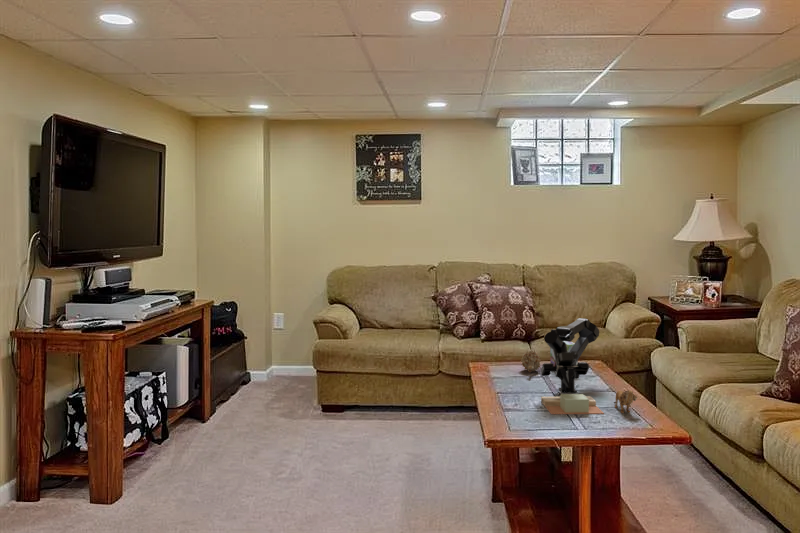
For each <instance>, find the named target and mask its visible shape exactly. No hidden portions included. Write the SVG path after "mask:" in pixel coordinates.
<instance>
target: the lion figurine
mask: <svg viewBox="0 0 800 533" xmlns="http://www.w3.org/2000/svg"><path fill="white" fill-rule="evenodd" d="M637 399H638V396H636V394H635V393H634V391H633V390H625V391H623V390H617V391H616V393H615V401H614V402H613V404H615V406H614V408H615V409H618V406H620V413H621V414H624V413H625V412H627V413H630V412H631V410H630V406H631V404H633V402H636V400H637ZM618 402H619V405H618ZM624 406H626V410H624Z"/></svg>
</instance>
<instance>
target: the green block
mask: <svg viewBox="0 0 800 533" xmlns="http://www.w3.org/2000/svg"><path fill="white" fill-rule="evenodd" d="M559 397H560V407H561V408H562V409H563V411H564V412H589V399H588V398H587V397H586V395H585V394H584V393H573V394H572V393H568V394H567V393H566V394H565V393H563V394H561V393H560V396H559Z"/></svg>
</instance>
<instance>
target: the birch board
mask: <svg viewBox="0 0 800 533" xmlns="http://www.w3.org/2000/svg"><path fill="white" fill-rule="evenodd" d="M585 396H586V395H585ZM586 397H587V398H588V399H589V406H597V401H596V400H595V399H594V398H593V397H592V396H588V395H587V396H586ZM540 400H541V403H542V405H543V406H544V407H545V408H546V406H560V396H541V399H540Z"/></svg>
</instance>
